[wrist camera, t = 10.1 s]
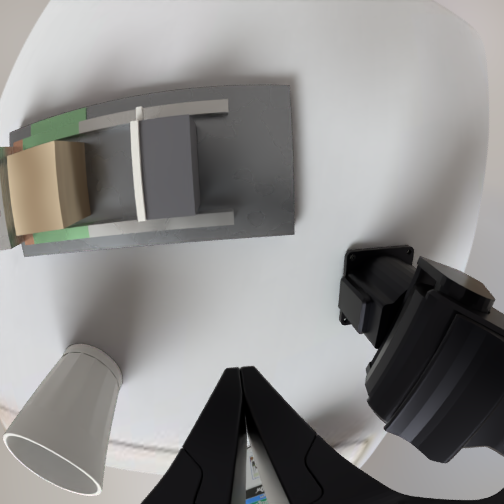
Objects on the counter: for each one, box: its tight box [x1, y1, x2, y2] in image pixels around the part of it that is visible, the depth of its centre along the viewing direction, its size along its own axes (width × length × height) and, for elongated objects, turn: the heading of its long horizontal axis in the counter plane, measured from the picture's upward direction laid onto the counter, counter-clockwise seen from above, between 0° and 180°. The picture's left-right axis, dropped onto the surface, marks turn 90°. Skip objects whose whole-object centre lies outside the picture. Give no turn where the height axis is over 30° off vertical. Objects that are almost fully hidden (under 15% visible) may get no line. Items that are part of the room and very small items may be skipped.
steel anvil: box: [0, 147, 24, 250], centre depth 15 cm, size 2×7×3 cm, turn 3°
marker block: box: [7, 141, 91, 236], centre depth 14 cm, size 4×5×4 cm
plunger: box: [129, 106, 201, 222], centre depth 15 cm, size 3×6×4 cm, turn 3°
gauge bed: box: [10, 85, 294, 257], centre depth 17 cm, size 21×10×2 cm, turn 92°
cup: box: [3, 344, 122, 496], centre depth 17 cm, size 8×8×12 cm
